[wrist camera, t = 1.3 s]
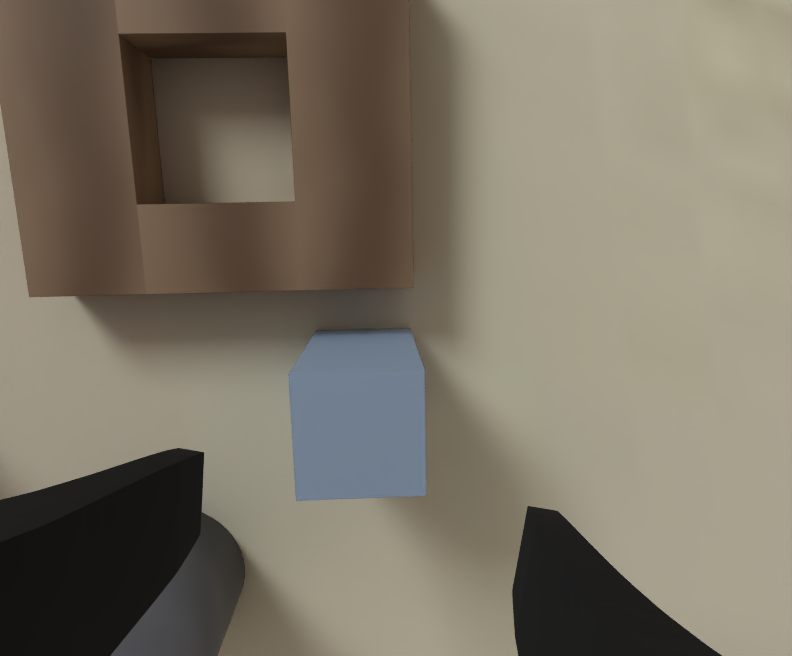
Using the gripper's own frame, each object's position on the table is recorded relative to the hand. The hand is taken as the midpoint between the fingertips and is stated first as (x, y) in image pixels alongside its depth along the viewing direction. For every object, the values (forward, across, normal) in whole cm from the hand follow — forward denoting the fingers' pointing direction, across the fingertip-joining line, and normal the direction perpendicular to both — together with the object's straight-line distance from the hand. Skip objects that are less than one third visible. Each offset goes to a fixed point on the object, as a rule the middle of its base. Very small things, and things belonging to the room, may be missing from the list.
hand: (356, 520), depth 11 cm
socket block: (+11, +8, -9) cm, 16 cm away
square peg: (+11, +2, 0) cm, 11 cm away
